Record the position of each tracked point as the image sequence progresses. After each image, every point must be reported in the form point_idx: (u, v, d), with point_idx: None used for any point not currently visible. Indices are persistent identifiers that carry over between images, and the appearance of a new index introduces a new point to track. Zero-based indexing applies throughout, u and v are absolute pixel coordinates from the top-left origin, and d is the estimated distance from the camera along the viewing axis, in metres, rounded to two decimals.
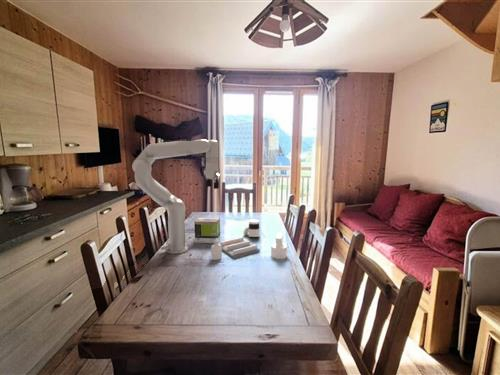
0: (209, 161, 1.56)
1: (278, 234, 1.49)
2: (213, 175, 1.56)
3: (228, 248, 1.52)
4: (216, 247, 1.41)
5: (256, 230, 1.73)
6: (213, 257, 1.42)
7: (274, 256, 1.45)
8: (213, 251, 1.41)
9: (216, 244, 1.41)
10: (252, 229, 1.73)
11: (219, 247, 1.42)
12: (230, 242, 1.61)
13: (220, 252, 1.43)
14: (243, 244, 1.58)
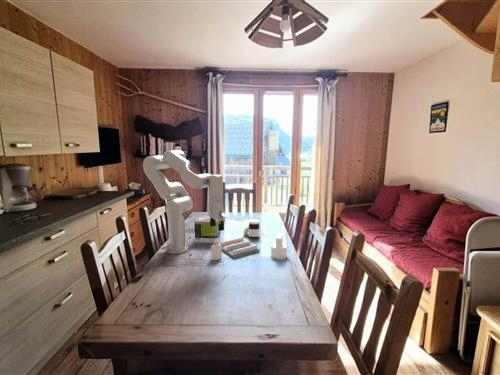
0: (213, 199, 1.35)
1: (278, 234, 1.49)
2: (217, 216, 1.34)
3: (228, 248, 1.52)
4: (216, 247, 1.41)
5: (256, 230, 1.73)
6: (213, 257, 1.42)
7: (274, 256, 1.45)
8: (213, 251, 1.41)
9: (216, 244, 1.41)
10: (252, 229, 1.73)
11: (219, 247, 1.42)
12: (230, 242, 1.61)
13: (220, 252, 1.43)
14: (243, 244, 1.58)
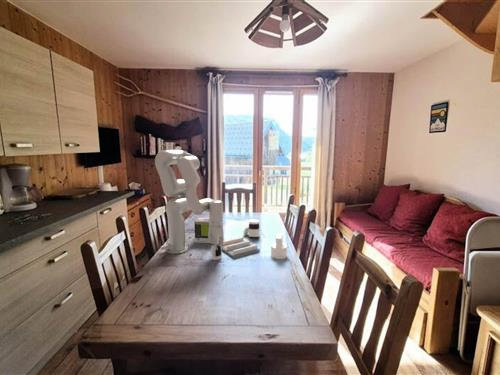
0: (213, 225, 1.37)
1: (278, 234, 1.49)
2: (217, 241, 1.37)
3: (228, 248, 1.52)
4: None
5: (256, 230, 1.73)
6: (213, 257, 1.42)
7: (274, 256, 1.45)
8: (213, 251, 1.41)
9: None
10: (252, 229, 1.73)
11: None
12: (230, 242, 1.61)
13: None
14: (243, 244, 1.58)
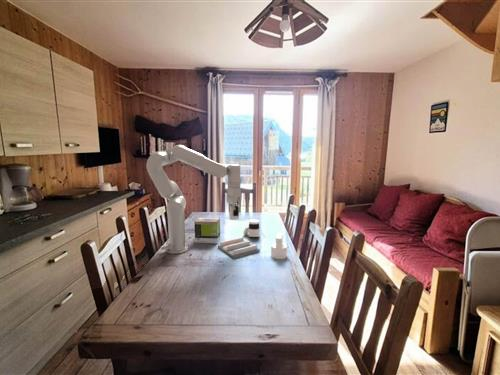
0: (231, 186, 1.49)
1: (278, 234, 1.49)
2: (235, 201, 1.49)
3: (228, 248, 1.52)
4: None
5: (256, 230, 1.73)
6: (231, 217, 1.53)
7: (274, 256, 1.45)
8: (231, 211, 1.53)
9: None
10: (252, 229, 1.73)
11: None
12: (230, 242, 1.61)
13: None
14: (243, 244, 1.58)
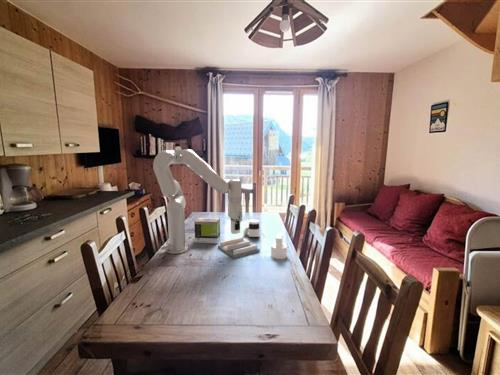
0: (232, 201, 1.52)
1: (278, 234, 1.49)
2: (237, 216, 1.51)
3: (228, 248, 1.52)
4: None
5: (256, 230, 1.73)
6: (233, 231, 1.56)
7: (274, 256, 1.45)
8: (233, 225, 1.55)
9: None
10: (252, 229, 1.73)
11: None
12: (230, 242, 1.61)
13: None
14: (243, 244, 1.58)
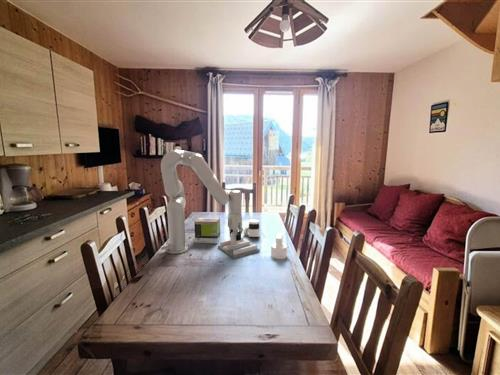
0: (232, 212, 1.53)
1: (278, 234, 1.49)
2: (237, 227, 1.52)
3: (228, 248, 1.52)
4: (235, 234, 1.57)
5: (256, 230, 1.73)
6: (232, 243, 1.57)
7: (274, 256, 1.45)
8: (232, 237, 1.57)
9: (235, 231, 1.57)
10: (252, 229, 1.73)
11: None
12: None
13: None
14: (243, 244, 1.58)
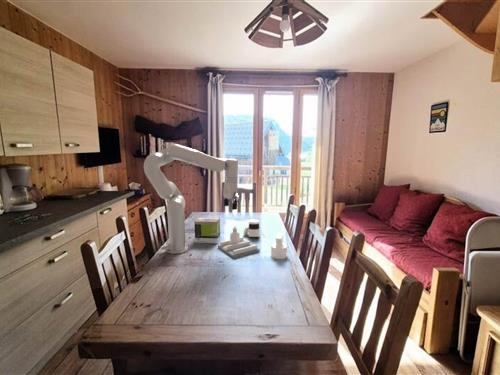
0: (228, 181, 1.50)
1: (278, 234, 1.49)
2: (232, 196, 1.50)
3: (228, 248, 1.52)
4: (235, 234, 1.57)
5: (256, 230, 1.73)
6: (232, 243, 1.57)
7: (274, 256, 1.45)
8: (232, 238, 1.57)
9: (235, 231, 1.57)
10: (252, 229, 1.73)
11: (237, 234, 1.58)
12: None
13: (238, 239, 1.59)
14: (243, 244, 1.58)
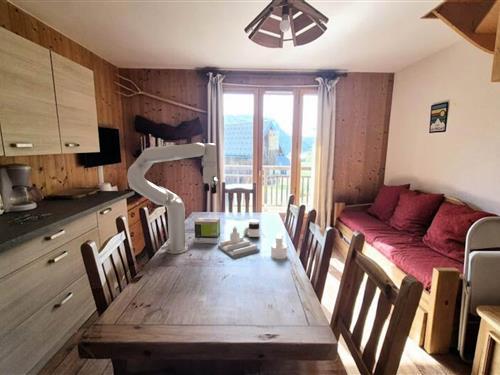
0: (207, 165, 1.51)
1: (278, 234, 1.49)
2: (211, 180, 1.51)
3: (228, 248, 1.52)
4: (235, 234, 1.57)
5: (256, 230, 1.73)
6: (232, 243, 1.57)
7: (274, 256, 1.45)
8: (232, 238, 1.57)
9: (235, 231, 1.57)
10: (252, 229, 1.73)
11: (237, 234, 1.58)
12: None
13: (238, 239, 1.59)
14: (243, 244, 1.58)
